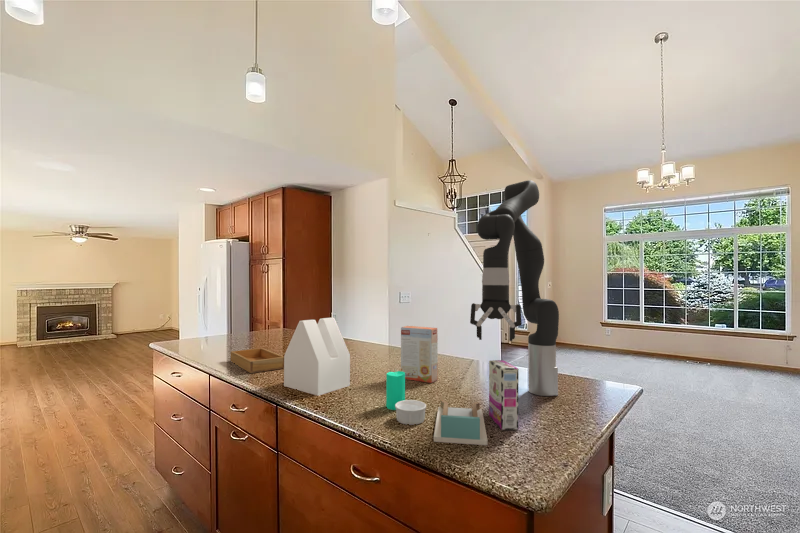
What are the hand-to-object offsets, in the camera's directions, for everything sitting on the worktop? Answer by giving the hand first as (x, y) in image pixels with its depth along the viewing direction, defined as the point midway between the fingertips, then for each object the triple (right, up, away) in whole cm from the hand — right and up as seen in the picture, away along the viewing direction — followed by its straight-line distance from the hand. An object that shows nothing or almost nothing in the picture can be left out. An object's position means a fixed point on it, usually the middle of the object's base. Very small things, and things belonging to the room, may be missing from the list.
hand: (495, 340), depth 108 cm
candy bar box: (+2, -23, -3) cm, 23 cm away
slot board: (-11, -23, -5) cm, 26 cm away
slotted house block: (-59, -24, +33) cm, 71 cm away
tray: (-94, -25, +66) cm, 118 cm away
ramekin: (-24, -23, -1) cm, 34 cm away
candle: (-29, -23, +10) cm, 38 cm away
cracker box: (-20, -24, +42) cm, 52 cm away
